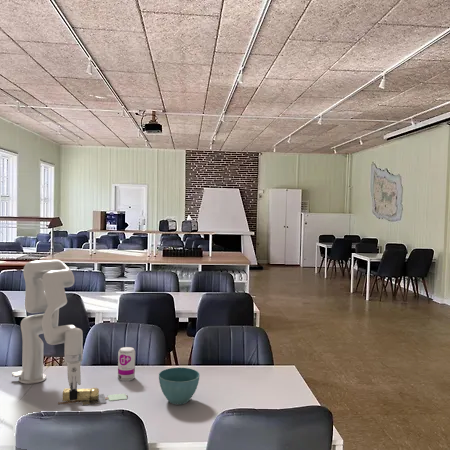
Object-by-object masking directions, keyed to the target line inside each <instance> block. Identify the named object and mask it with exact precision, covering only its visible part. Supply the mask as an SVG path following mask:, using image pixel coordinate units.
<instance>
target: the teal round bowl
mask: <svg viewBox="0 0 450 450" xmlns="http://www.w3.org/2000/svg"><path fill="white" fill-rule="evenodd" d="M158 380H159V381H158V382H159V387H160V389H161V393H162V394H163V395H164V397H165V398H166V400H167V401H168V402H169V403H170V404H173V405H176V404H180V405H184V403H185V404H187V403H188V402H189V401H190V400H191V399H192V397H193V396H194V395H195V393H196V390H197V388H198V386H199V381H200V372H199V371H198V370H195V369H193V368H190V367H189V368H188V367H170V368H165V369H164V370H161V371H160V372H159V373H158Z"/></svg>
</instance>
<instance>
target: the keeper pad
mask: <svg viewBox="0 0 450 450" xmlns="http://www.w3.org/2000/svg"><path fill="white" fill-rule="evenodd" d="M126 395H127V393H117V394H116V393H115V394H108V395H107V397H108V398H109V399H108V401H109V402H111V401H112V402H114V401H123V400H128V397H127V396H128V395H127V396H126Z"/></svg>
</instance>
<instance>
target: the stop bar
mask: <svg viewBox="0 0 450 450" xmlns="http://www.w3.org/2000/svg"><path fill="white" fill-rule="evenodd" d="M69 390H70V387H69V388H68V387H67V388H63V391H62V395H61V396H62V398H61V400H62V401H61V402H66V401H73V400H70V399H69ZM99 394H100V389H99V388H97V387H90V388H77V399H76V400H91V401H95V400H98V399H99Z"/></svg>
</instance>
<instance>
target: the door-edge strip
mask: <svg viewBox="0 0 450 450" xmlns="http://www.w3.org/2000/svg"><path fill="white" fill-rule="evenodd" d="M126 396H127V398H128V395H127V394H126ZM105 400H106V401H108V400H109V398H108V396H107V397H105ZM76 402H78V403H82V400H72V401H58V402H57V404H58V405H66V404H67V405H68V404H76Z"/></svg>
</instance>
